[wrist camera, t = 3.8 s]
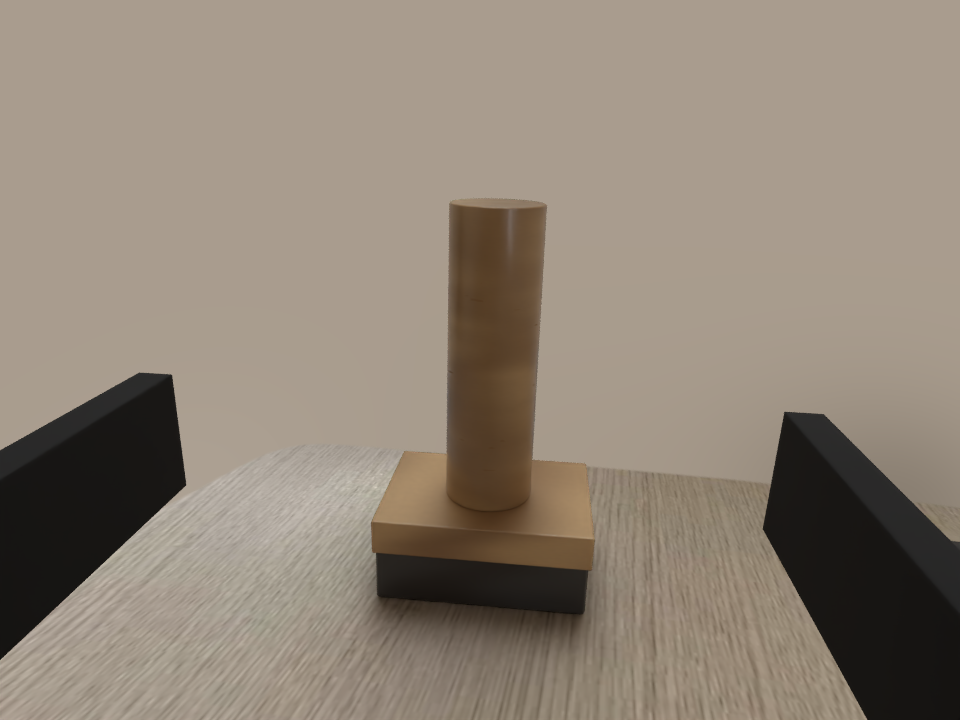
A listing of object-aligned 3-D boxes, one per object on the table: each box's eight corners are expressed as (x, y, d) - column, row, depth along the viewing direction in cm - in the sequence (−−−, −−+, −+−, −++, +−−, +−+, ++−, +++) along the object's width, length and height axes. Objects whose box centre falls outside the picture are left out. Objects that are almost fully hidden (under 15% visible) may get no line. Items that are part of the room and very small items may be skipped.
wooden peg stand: (372, 598, 22) (361, 206, 18) (404, 516, 27) (400, 192, 23) (587, 618, 22) (625, 215, 18) (580, 529, 27) (609, 199, 22)
